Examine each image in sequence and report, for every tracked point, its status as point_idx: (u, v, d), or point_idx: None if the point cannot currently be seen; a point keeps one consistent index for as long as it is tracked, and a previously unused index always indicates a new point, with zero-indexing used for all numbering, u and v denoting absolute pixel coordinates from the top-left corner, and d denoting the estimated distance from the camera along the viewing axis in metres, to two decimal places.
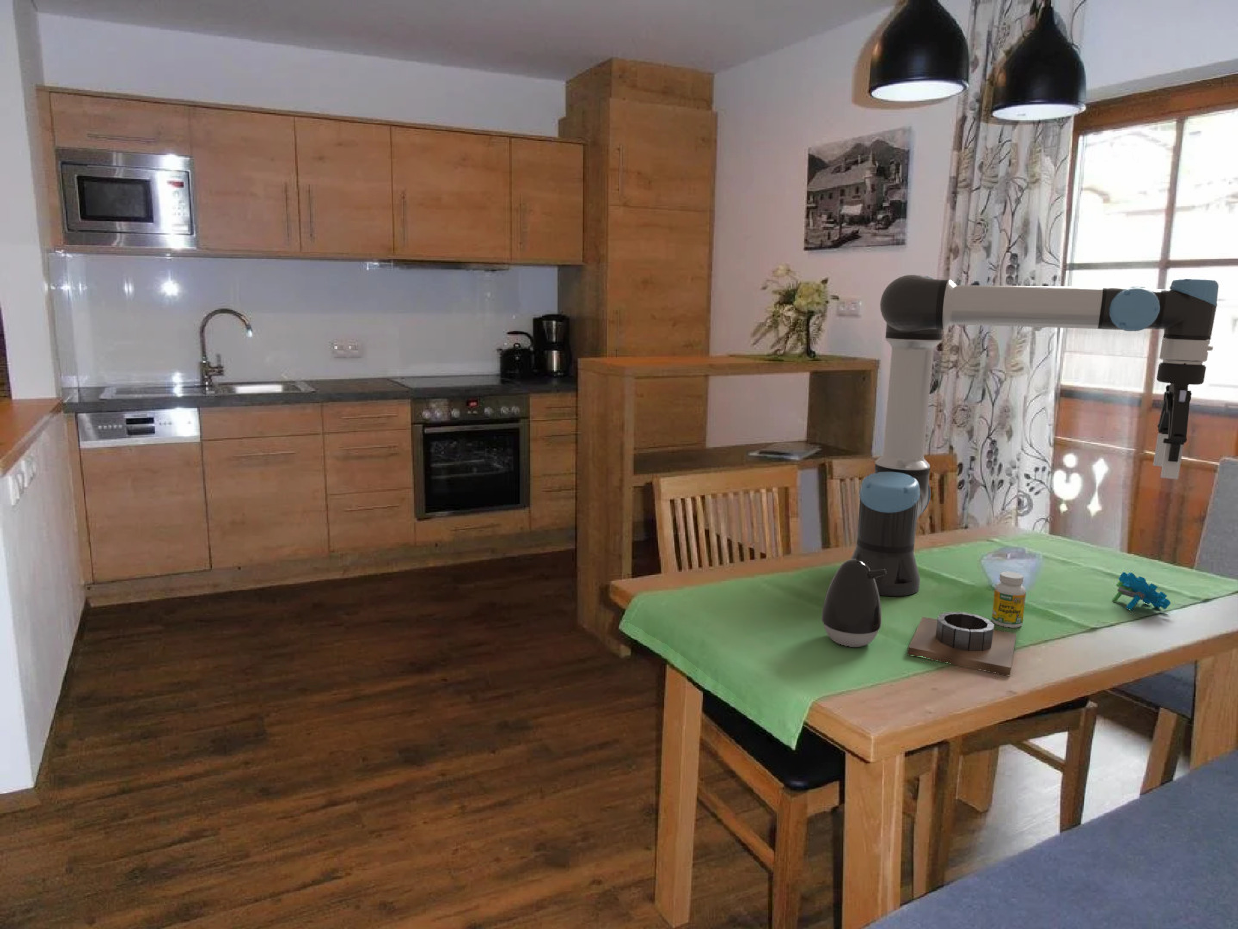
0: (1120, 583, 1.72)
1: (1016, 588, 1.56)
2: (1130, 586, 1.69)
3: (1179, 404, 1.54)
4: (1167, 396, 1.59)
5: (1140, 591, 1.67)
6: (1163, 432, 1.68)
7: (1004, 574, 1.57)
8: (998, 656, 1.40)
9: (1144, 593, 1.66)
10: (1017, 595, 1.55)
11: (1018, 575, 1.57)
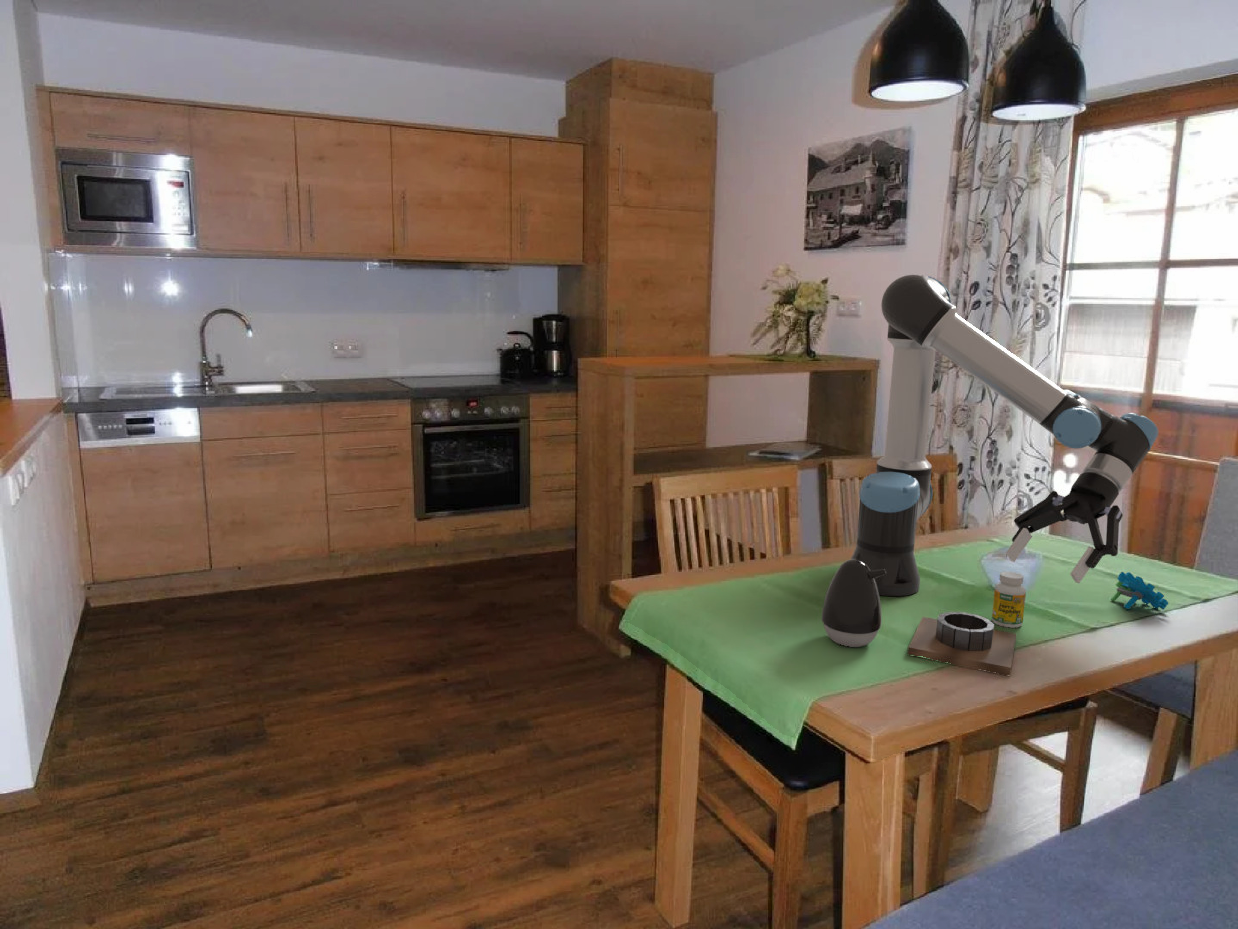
0: (1119, 583, 1.72)
1: (1016, 588, 1.56)
2: (1129, 586, 1.69)
3: (1116, 519, 1.55)
4: (1089, 505, 1.59)
5: (1138, 591, 1.67)
6: (1026, 529, 1.66)
7: (1004, 574, 1.57)
8: (998, 656, 1.40)
9: (1142, 593, 1.66)
10: (1017, 595, 1.55)
11: (1018, 575, 1.57)
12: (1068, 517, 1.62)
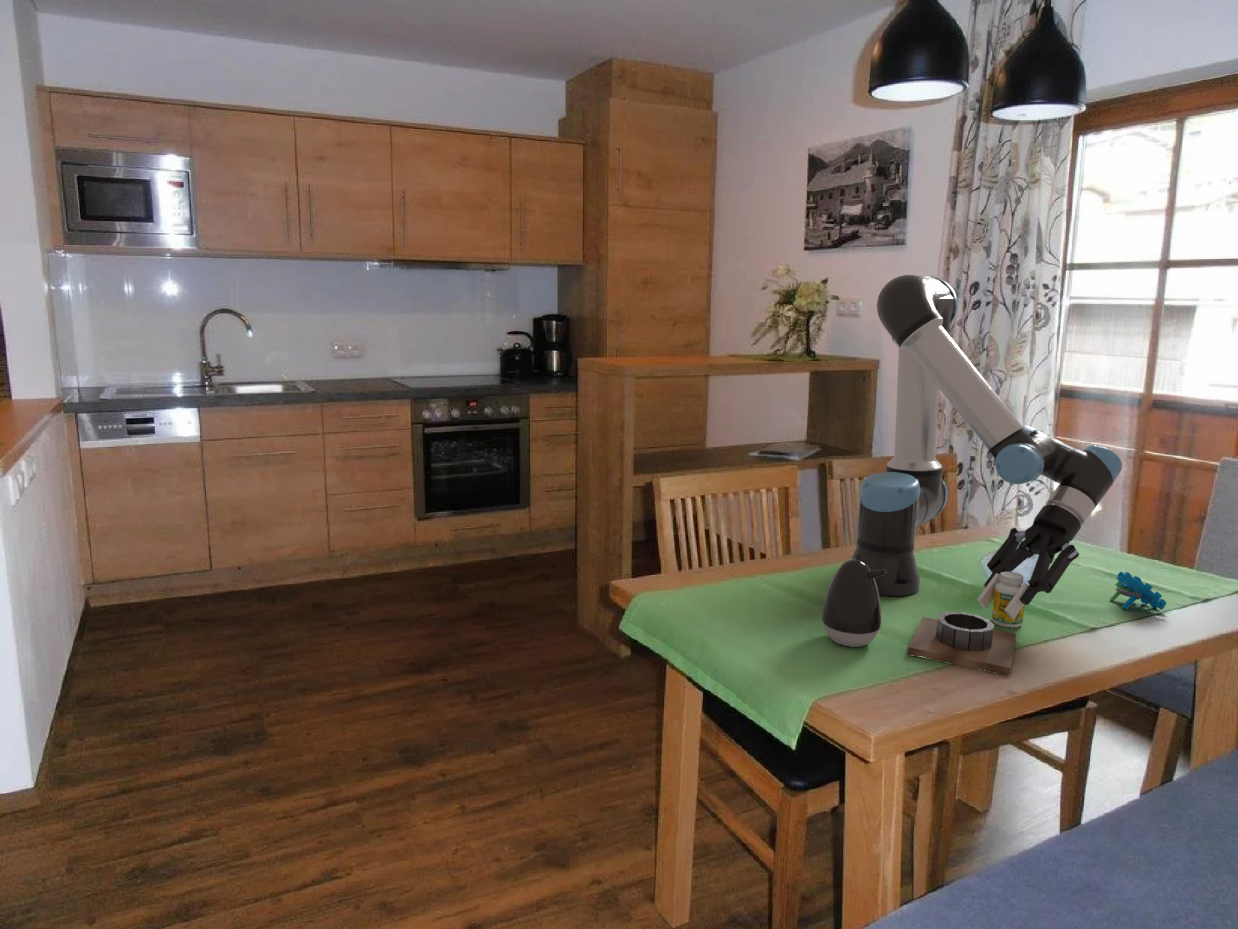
0: (1119, 583, 1.72)
1: (1016, 587, 1.56)
2: (1128, 586, 1.70)
3: (1066, 559, 1.54)
4: (1049, 539, 1.57)
5: (1136, 591, 1.67)
6: None
7: (1004, 574, 1.57)
8: (998, 656, 1.40)
9: (1140, 593, 1.66)
10: None
11: (1018, 575, 1.57)
12: (1030, 550, 1.60)
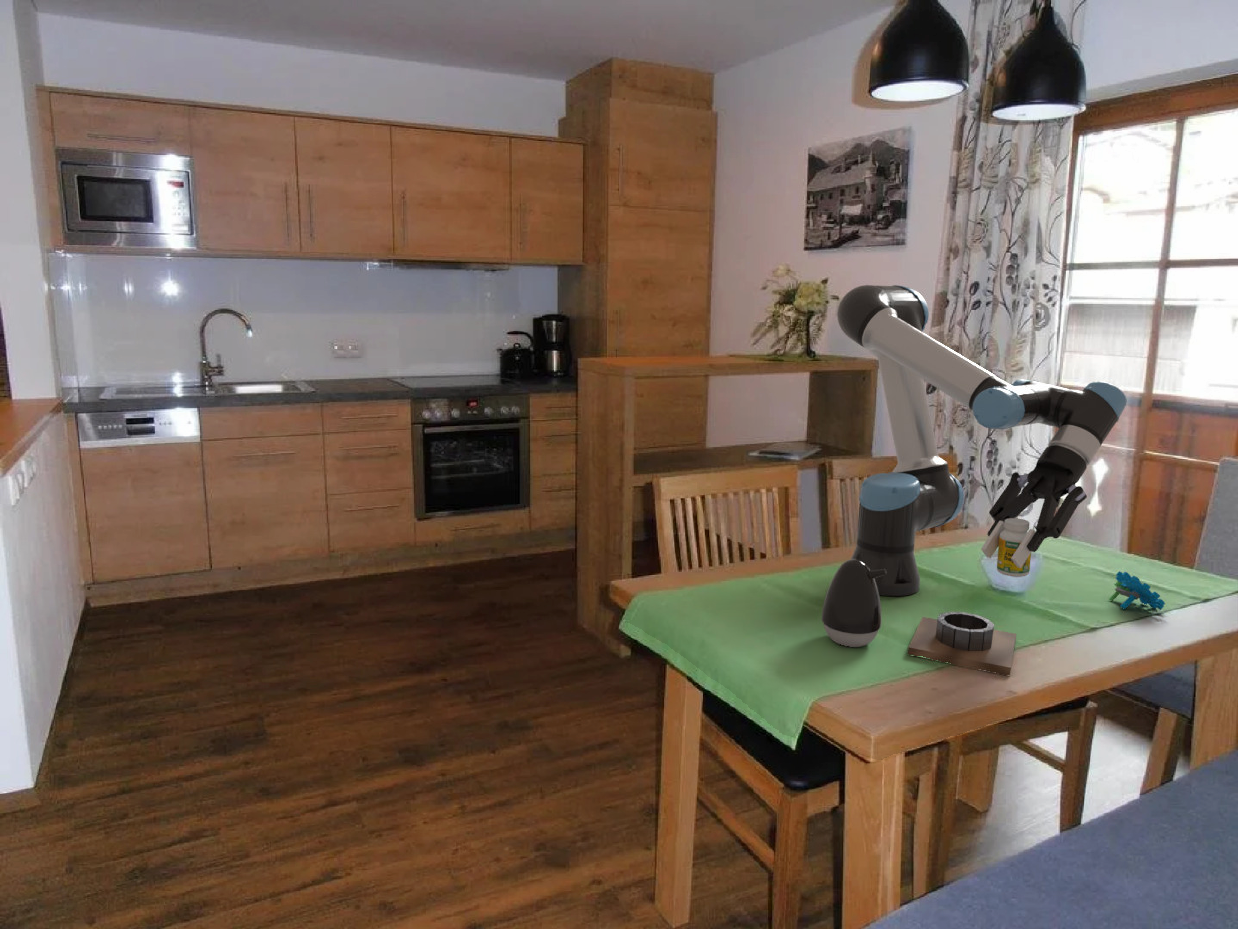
0: (1118, 583, 1.72)
1: (1022, 534, 1.47)
2: (1127, 586, 1.70)
3: (1074, 501, 1.45)
4: (1054, 482, 1.48)
5: (1135, 591, 1.67)
6: (1002, 521, 1.52)
7: (1009, 521, 1.48)
8: (998, 656, 1.40)
9: (1139, 593, 1.66)
10: None
11: (1024, 521, 1.48)
12: (1034, 494, 1.51)
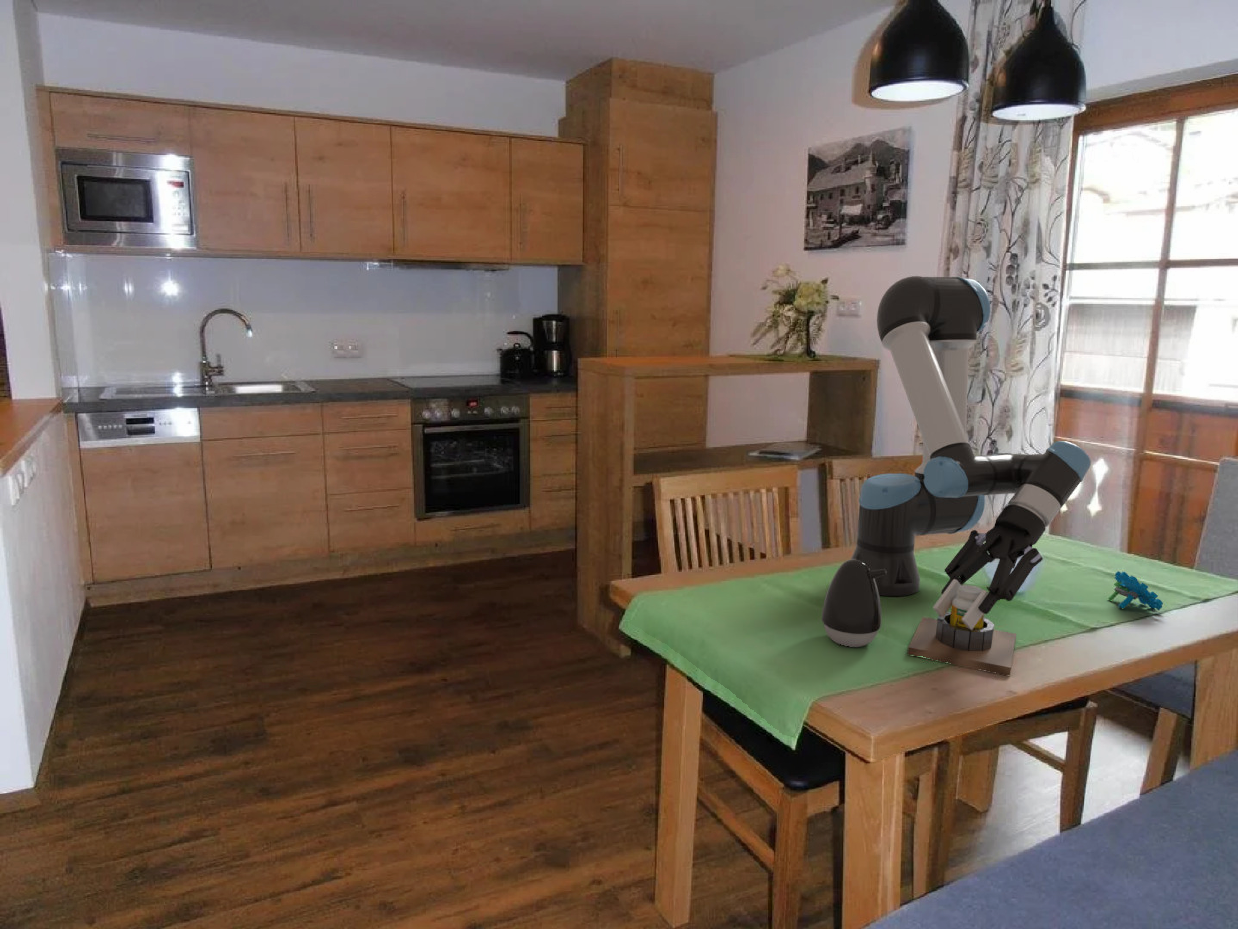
0: (1117, 583, 1.72)
1: None
2: (1126, 586, 1.70)
3: (1028, 563, 1.41)
4: (1010, 542, 1.44)
5: (1133, 591, 1.67)
6: None
7: (962, 588, 1.45)
8: (998, 656, 1.40)
9: (1137, 593, 1.66)
10: None
11: (977, 589, 1.44)
12: (990, 554, 1.47)
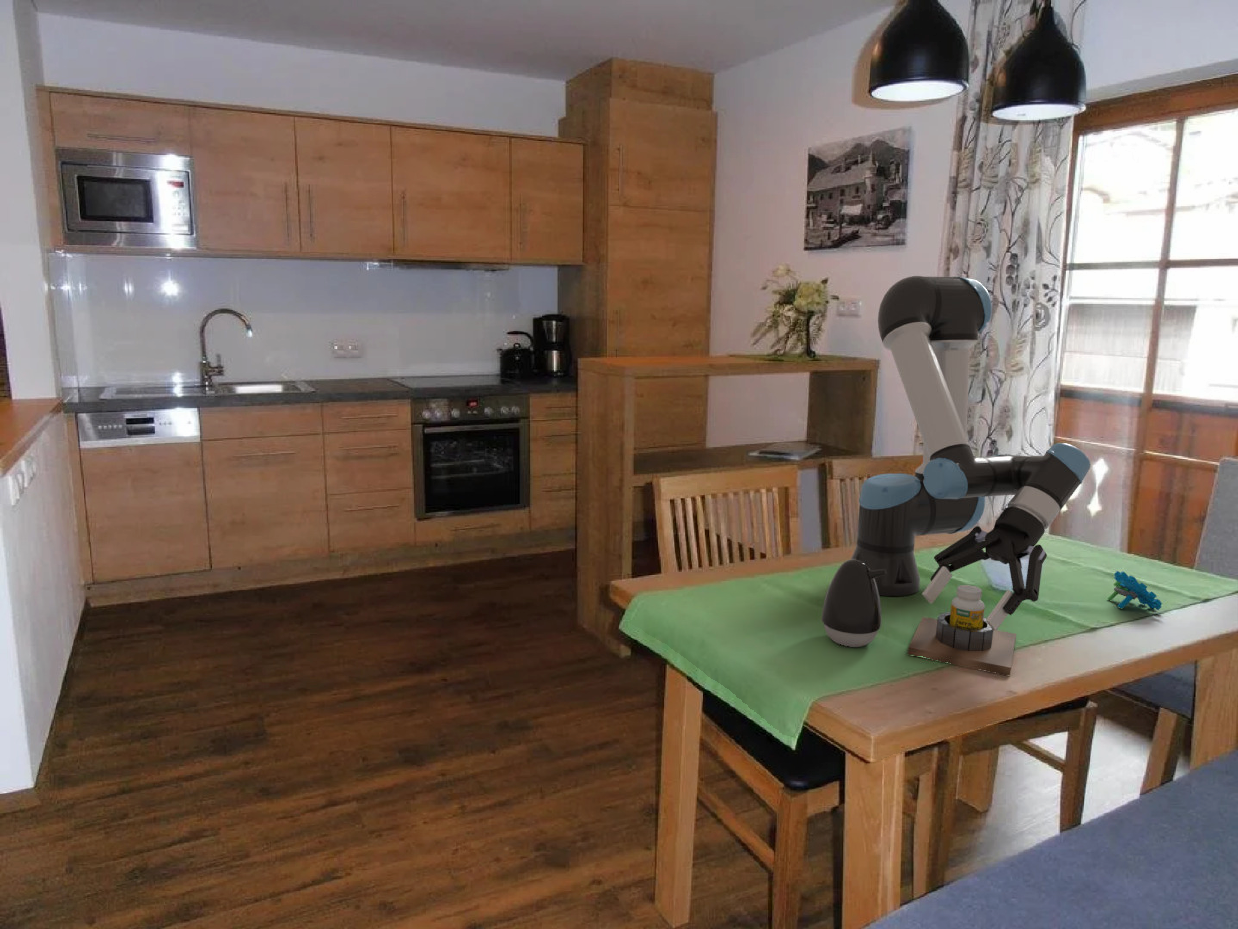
0: (1117, 583, 1.72)
1: (973, 603, 1.43)
2: (1125, 586, 1.70)
3: (1038, 561, 1.40)
4: (1011, 543, 1.44)
5: (1133, 591, 1.67)
6: (946, 567, 1.52)
7: (961, 588, 1.45)
8: (998, 656, 1.40)
9: (1136, 593, 1.66)
10: (975, 611, 1.43)
11: (976, 589, 1.44)
12: (990, 556, 1.48)
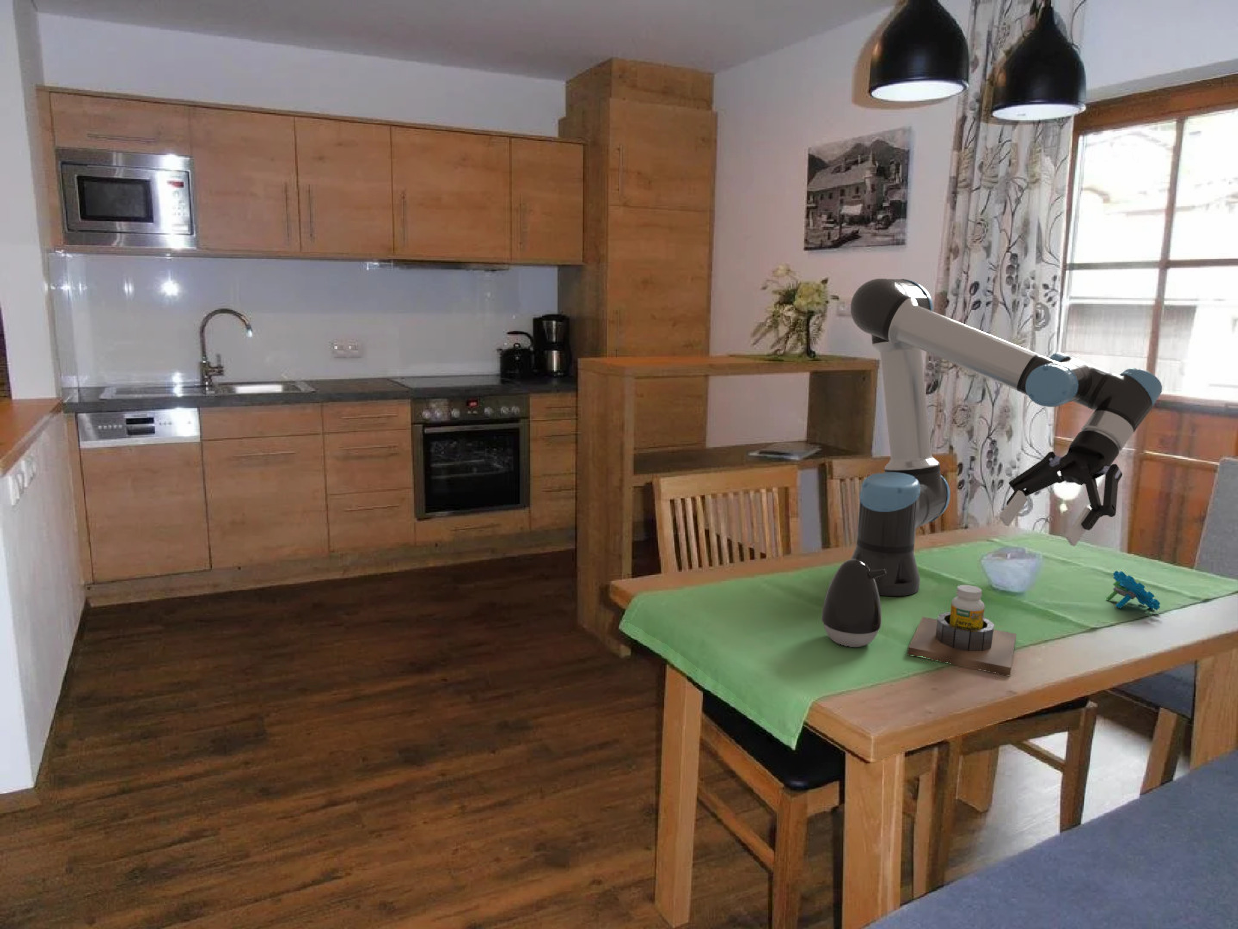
0: (1116, 582, 1.72)
1: (973, 603, 1.43)
2: (1124, 585, 1.70)
3: (1114, 479, 1.46)
4: (1087, 464, 1.50)
5: (1131, 590, 1.67)
6: None
7: (961, 588, 1.45)
8: (998, 656, 1.40)
9: (1135, 593, 1.66)
10: (975, 611, 1.43)
11: (976, 589, 1.44)
12: (1065, 478, 1.53)
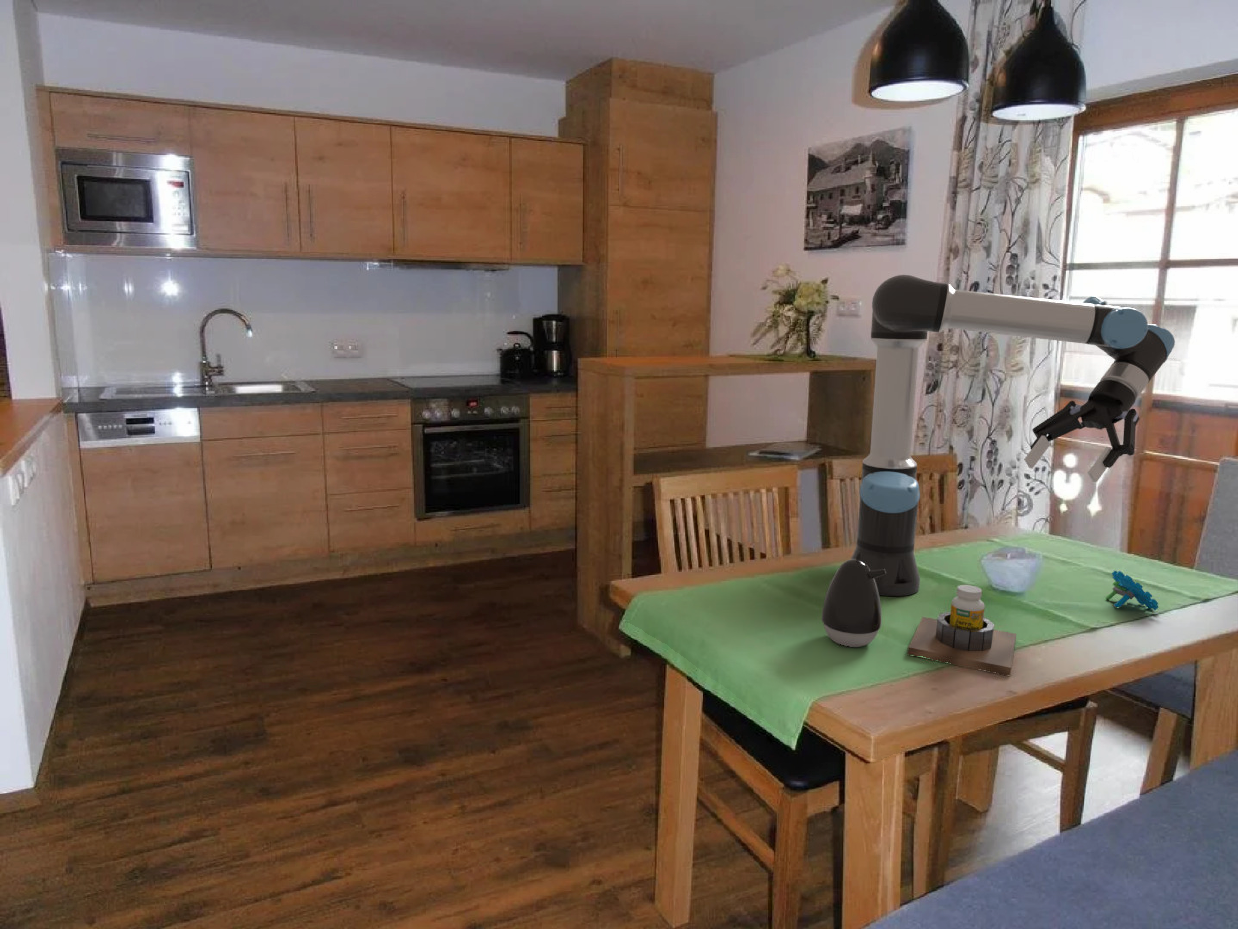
0: (1116, 582, 1.72)
1: (973, 603, 1.43)
2: (1123, 585, 1.70)
3: (1133, 422, 1.59)
4: (1107, 410, 1.63)
5: (1130, 590, 1.67)
6: (1044, 437, 1.70)
7: (961, 588, 1.45)
8: (998, 656, 1.40)
9: (1133, 592, 1.66)
10: (975, 611, 1.43)
11: (976, 589, 1.44)
12: (1086, 423, 1.66)
